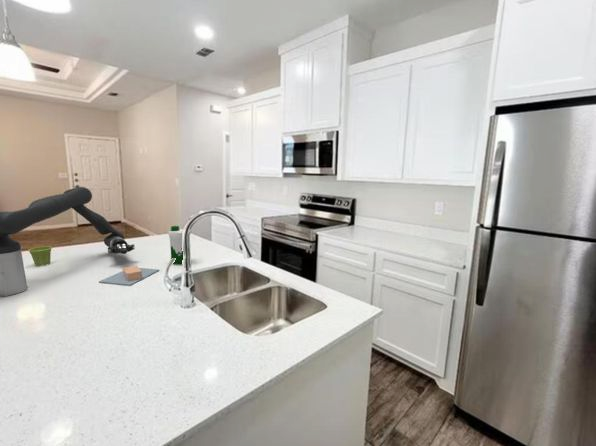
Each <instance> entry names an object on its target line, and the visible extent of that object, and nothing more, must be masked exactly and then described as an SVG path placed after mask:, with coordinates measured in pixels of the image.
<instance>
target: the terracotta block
mask: <svg viewBox="0 0 596 446" xmlns="http://www.w3.org/2000/svg"><path fill="white" fill-rule="evenodd" d="M139 268H140V267H139V266H138V265H131V266H126V267H125V266H124V267H122V271H123V275H124V276H125V278H126V280H127V281H131V280H136V279H141V278H142V271H141V270H140V269H139Z"/></svg>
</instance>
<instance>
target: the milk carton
mask: <svg viewBox="0 0 596 446" xmlns="http://www.w3.org/2000/svg"><path fill="white" fill-rule="evenodd" d="M183 229H184V228H180V226H179V225H173V226H171V227H170V230H169V231H167V233H168V237H169V243H170V244H169V245H170V260H171V259H172V258H176V260H175V262H174V263H173V264H172V265H177V266H183V265H182V260H183V251H182V231H183Z"/></svg>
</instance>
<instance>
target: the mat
mask: <svg viewBox="0 0 596 446" xmlns="http://www.w3.org/2000/svg"><path fill="white" fill-rule="evenodd" d="M139 269H140V270H141V271H142V278H141V279H136V280H131V281H127V280H126V278H125V276H124V275H123V270H122V271H119V272H117V273H115V274H113V275H110V276H108V277H105V278H104V279H100V280H99V281H98V283H99V284H101V283H102V284H108V285H116V284H117V285H119V286H128V287H132V285H135V284H137V283H138V282H140V281H143V280H144V279H147V278H149V277H150V276H152V275H154V274H156V273H158V272H160V269H156V268H147V267H139ZM117 285H116V286H117Z"/></svg>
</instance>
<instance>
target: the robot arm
mask: <svg viewBox="0 0 596 446" xmlns="http://www.w3.org/2000/svg"><path fill="white" fill-rule="evenodd" d="M92 198H93V192H92V191H91V190H90V189H89V188H87V187H84V186H77V187H74V188H71V189H70V188H69V189H67V190H65V191H64V192H63V193H59V194H54V195H49V196H46V197H42V198H39V199H35V200H34V201H32V202H31V203H30V204H29V205H28V207H25V208H23V209H20V210H15V211H0V297H7V296H11V295H12V296H13V295H17V294H20V293H22V292H25V291H27V289H28V285H27V284H28V283H27V278H26V270H25V266H24V265H25V264H24V258H23V253H22V247H21V243H20V242H18V241H17V240H14V239H12V237H10V236H11V235H15V234H17V233H20V232H21V231H23V230H25V229H27V228H29V227H31V226H32V225H35V224H37V223H40V222H42V221H45V220H47V219H51V218H54V217H57V216H58V215H60V214H62V213H65V212H66V211H69V210H70V209H72V210H74V211H75V212H76V213H77V214H79V216H81V217H82V218H84V219H85V220H86V221H88V222H89V223H90V224H91V225H92V227H94V228H95V230H96V231H97V232H98V233H99V234H100V235H101V236H105V235H108V234H109V235H108V236H106V237H104V239H103V243H104V245H105V246H107V253H110V254H121V255H126V254H127V253H129V252H131V251H133V250H135V244H133V243H132V244H129V243H127V241H126V240H125V235H124V234H123V232H121V231H119V230H117V229H116V228H114V227H113V226H112V225H111V224H110V222H109V221H108V220H107V219H106V218H105V217H104V216H102V215H101V214H99V213H97V212H95V211H93V210H92V209H89V208H88V207H87V206H86V205H87V204H88V203H90V202H91V201H92ZM85 204H86V205H85Z"/></svg>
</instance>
